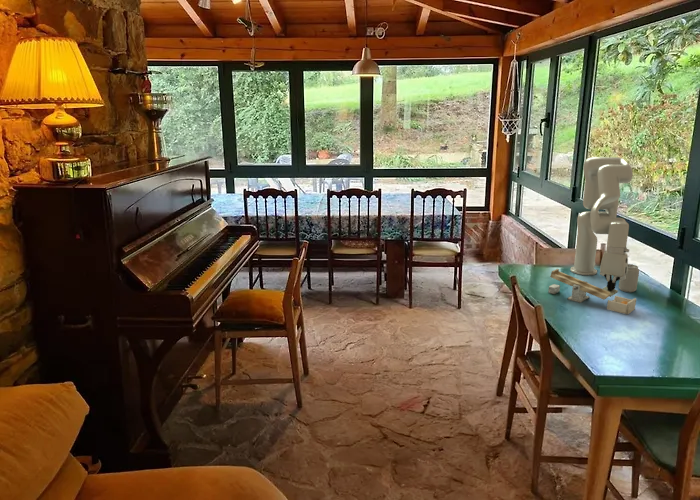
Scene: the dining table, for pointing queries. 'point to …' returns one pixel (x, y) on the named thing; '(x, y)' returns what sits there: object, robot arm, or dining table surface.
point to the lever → (583, 285)
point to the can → (630, 279)
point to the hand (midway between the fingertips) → (610, 289)
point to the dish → (621, 305)
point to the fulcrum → (576, 292)
